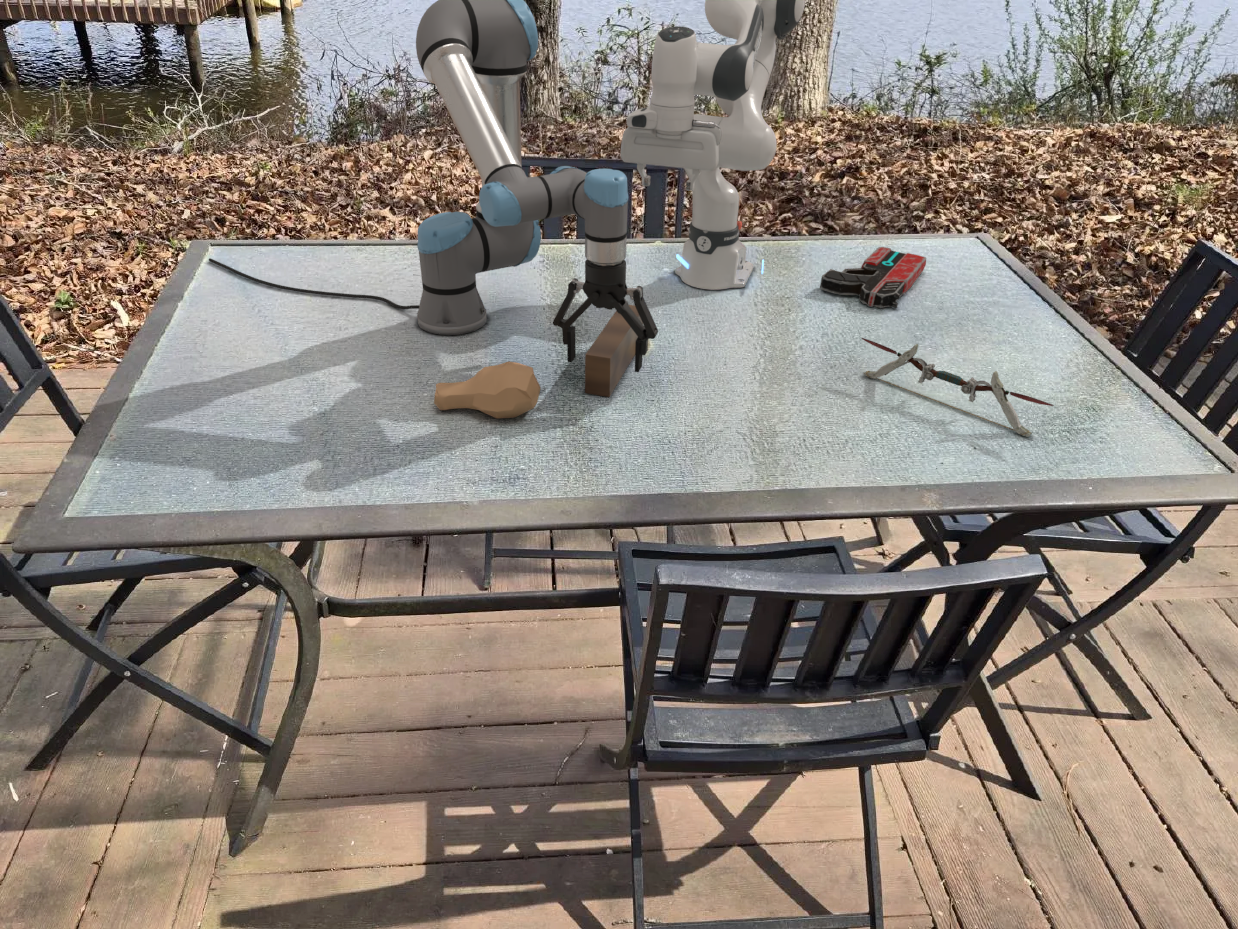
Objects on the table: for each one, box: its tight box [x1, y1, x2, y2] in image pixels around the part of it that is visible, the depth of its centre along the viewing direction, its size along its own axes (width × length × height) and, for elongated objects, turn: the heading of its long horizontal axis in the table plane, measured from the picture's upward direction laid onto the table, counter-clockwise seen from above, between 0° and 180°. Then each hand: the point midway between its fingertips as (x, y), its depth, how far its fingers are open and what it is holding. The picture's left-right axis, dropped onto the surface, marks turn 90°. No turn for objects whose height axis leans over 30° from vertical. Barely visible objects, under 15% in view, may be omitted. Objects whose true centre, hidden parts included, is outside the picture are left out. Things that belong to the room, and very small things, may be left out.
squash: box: [433, 360, 542, 419], centre depth 163 cm, size 11×20×9 cm, turn 90°
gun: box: [819, 246, 927, 309], centre depth 221 cm, size 4×31×19 cm
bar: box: [584, 304, 644, 398], centre depth 179 cm, size 25×5×8 cm, turn 164°
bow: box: [861, 337, 1055, 437], centre depth 168 cm, size 39×2×10 cm, turn 47°
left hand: (604, 364), depth 171 cm, fingers open, 13 cm apart
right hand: (667, 187), depth 183 cm, fingers open, 8 cm apart
